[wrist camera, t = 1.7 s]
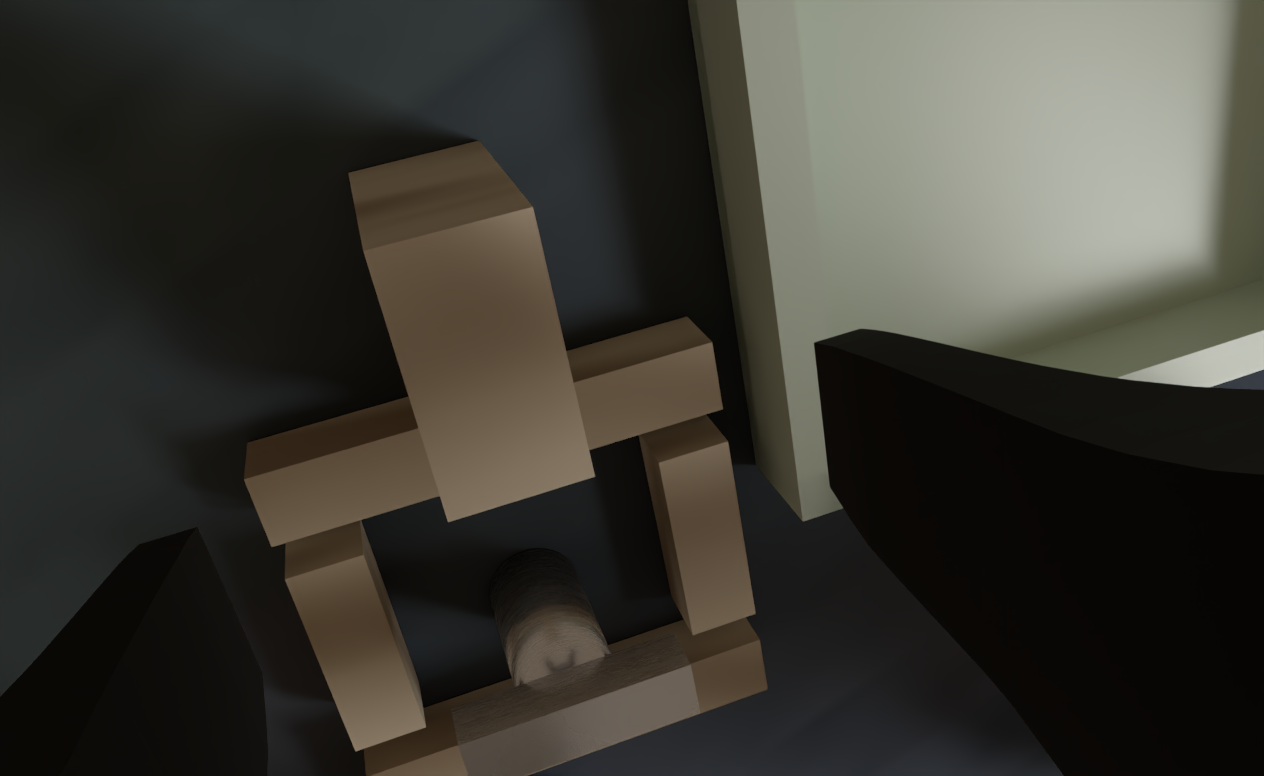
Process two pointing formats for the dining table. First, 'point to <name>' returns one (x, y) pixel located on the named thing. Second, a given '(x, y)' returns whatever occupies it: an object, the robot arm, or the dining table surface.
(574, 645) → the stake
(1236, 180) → the tray
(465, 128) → the dining table surface
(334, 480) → the tan joined block frame
